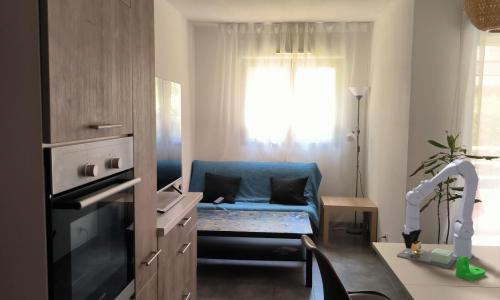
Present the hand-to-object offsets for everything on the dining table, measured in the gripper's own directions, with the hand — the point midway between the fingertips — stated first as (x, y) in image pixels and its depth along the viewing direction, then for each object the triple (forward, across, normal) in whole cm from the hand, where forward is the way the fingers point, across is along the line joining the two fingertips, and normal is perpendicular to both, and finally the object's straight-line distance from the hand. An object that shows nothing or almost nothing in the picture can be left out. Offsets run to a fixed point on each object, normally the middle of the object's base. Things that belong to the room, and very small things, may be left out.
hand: (411, 246), depth 201 cm
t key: (+2, -1, +3) cm, 4 cm away
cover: (+2, +3, +14) cm, 15 cm away
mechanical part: (+4, +12, +28) cm, 31 cm away
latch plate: (+3, +2, +8) cm, 9 cm away
